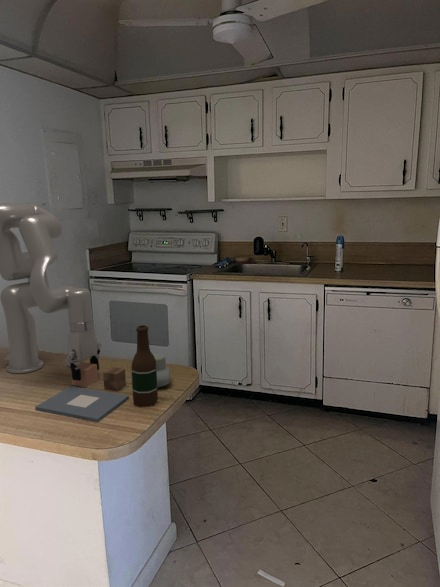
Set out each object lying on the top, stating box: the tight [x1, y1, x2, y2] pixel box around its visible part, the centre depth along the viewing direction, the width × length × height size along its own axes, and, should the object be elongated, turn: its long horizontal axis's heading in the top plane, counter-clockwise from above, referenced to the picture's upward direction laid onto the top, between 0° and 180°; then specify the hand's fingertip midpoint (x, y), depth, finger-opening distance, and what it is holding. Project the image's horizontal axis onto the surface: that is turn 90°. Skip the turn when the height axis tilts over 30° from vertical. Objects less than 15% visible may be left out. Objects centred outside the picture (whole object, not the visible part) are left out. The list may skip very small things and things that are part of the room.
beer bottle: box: [131, 325, 158, 408], centre depth 133 cm, size 8×8×24 cm
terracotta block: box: [70, 361, 99, 388], centre depth 150 cm, size 6×6×6 cm
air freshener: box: [152, 353, 171, 389], centre depth 148 cm, size 11×8×10 cm
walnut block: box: [102, 366, 127, 392], centre depth 146 cm, size 5×5×6 cm
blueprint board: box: [34, 385, 130, 423], centre depth 134 cm, size 22×16×1 cm
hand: (86, 374), depth 150 cm, fingers open, 9 cm apart
